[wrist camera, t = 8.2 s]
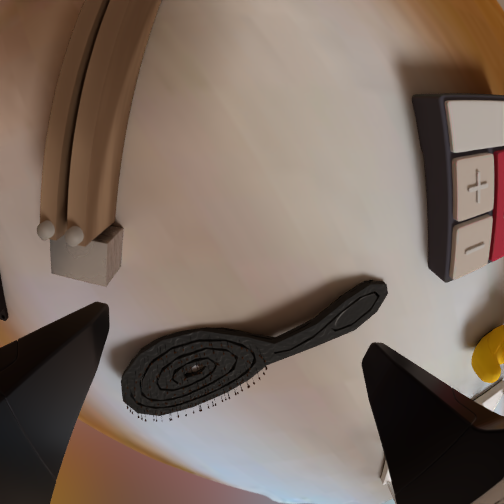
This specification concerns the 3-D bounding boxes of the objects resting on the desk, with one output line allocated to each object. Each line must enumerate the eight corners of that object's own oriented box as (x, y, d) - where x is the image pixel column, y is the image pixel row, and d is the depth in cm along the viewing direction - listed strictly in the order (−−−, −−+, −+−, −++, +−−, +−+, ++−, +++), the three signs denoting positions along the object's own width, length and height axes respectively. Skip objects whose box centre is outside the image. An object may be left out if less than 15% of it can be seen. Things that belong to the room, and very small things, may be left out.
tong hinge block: (70, 255, 20) (51, 273, 17) (71, 218, 19) (50, 232, 16) (121, 266, 20) (106, 286, 18) (123, 228, 19) (107, 243, 16)
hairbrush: (404, 335, 22) (153, 436, 23) (385, 313, 26) (157, 410, 27) (390, 255, 19) (96, 383, 20) (367, 239, 23) (106, 356, 24)
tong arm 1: (98, 218, 19) (61, 246, 14) (155, -27, 12) (136, -66, 7) (116, 221, 19) (82, 250, 14) (173, -27, 13) (159, -67, 7)
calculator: (449, 289, 20) (445, 93, 14) (422, 265, 24) (409, 94, 18) (520, 253, 20) (523, 97, 13) (494, 236, 24) (491, 94, 17)
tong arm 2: (75, 214, 18) (34, 239, 13) (135, -27, 12) (112, -63, 7) (91, 217, 19) (53, 244, 14) (152, -27, 12) (134, -66, 7)
